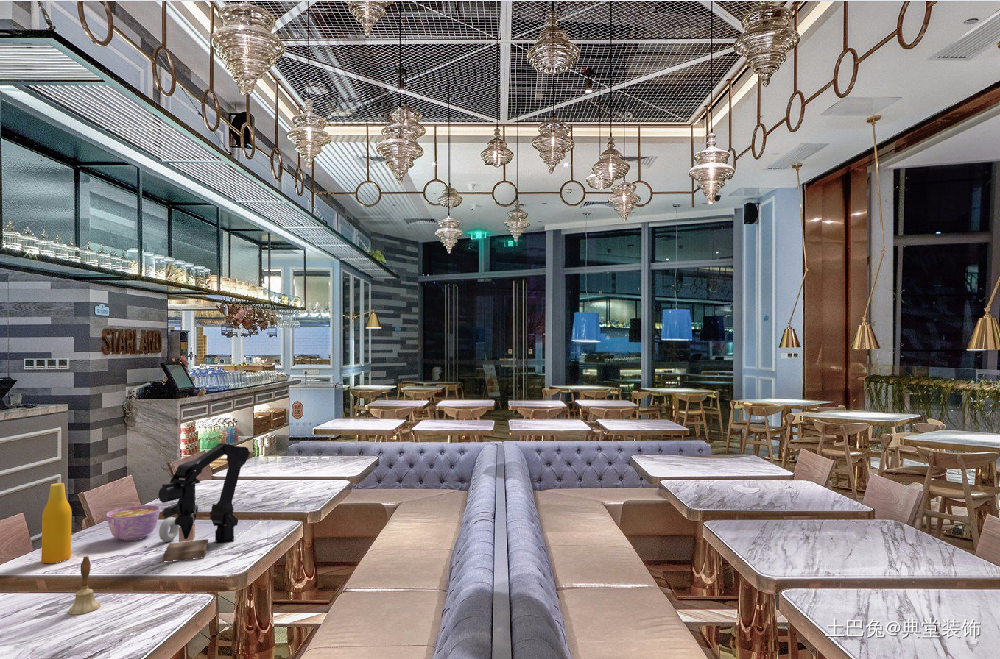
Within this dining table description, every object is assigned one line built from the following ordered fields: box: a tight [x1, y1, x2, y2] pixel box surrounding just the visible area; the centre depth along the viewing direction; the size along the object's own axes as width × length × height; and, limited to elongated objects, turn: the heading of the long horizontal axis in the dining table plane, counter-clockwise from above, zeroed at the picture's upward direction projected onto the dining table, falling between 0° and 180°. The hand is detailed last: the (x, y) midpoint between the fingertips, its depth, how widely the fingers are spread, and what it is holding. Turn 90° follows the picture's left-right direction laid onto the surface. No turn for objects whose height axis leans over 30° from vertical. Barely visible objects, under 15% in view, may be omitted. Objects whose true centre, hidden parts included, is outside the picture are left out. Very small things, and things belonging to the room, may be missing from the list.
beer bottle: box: [40, 482, 73, 564], centre depth 229 cm, size 9×9×29 cm
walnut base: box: [162, 538, 209, 563], centre depth 234 cm, size 14×14×3 cm
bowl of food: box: [106, 504, 161, 542], centre depth 256 cm, size 20×20×12 cm
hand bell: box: [67, 555, 101, 616], centre depth 185 cm, size 8×8×16 cm
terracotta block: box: [178, 523, 196, 542], centre depth 235 cm, size 5×5×5 cm
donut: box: [158, 516, 180, 543], centre depth 251 cm, size 10×4×10 cm, turn 171°
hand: (186, 536), depth 235 cm, fingers closed on terracotta block, 5 cm apart
